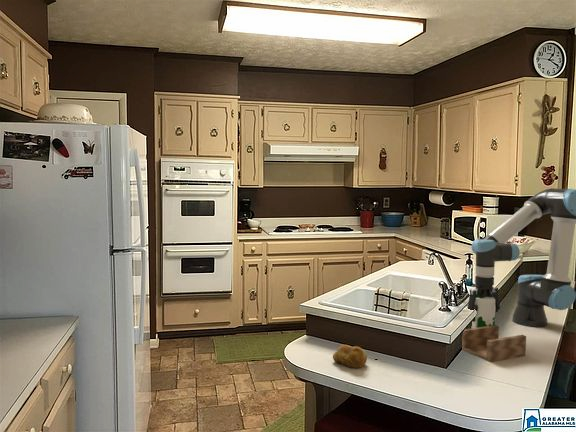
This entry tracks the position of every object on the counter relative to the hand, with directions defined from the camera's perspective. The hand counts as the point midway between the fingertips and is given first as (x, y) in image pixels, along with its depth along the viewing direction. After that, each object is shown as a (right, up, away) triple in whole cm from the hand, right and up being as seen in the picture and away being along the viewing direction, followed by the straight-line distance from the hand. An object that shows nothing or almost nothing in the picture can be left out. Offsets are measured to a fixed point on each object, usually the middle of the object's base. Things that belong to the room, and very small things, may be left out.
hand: (482, 327), depth 215 cm
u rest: (-3, -6, -17) cm, 18 cm away
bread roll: (-61, -7, -30) cm, 69 cm away
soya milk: (0, -5, +1) cm, 5 cm away
